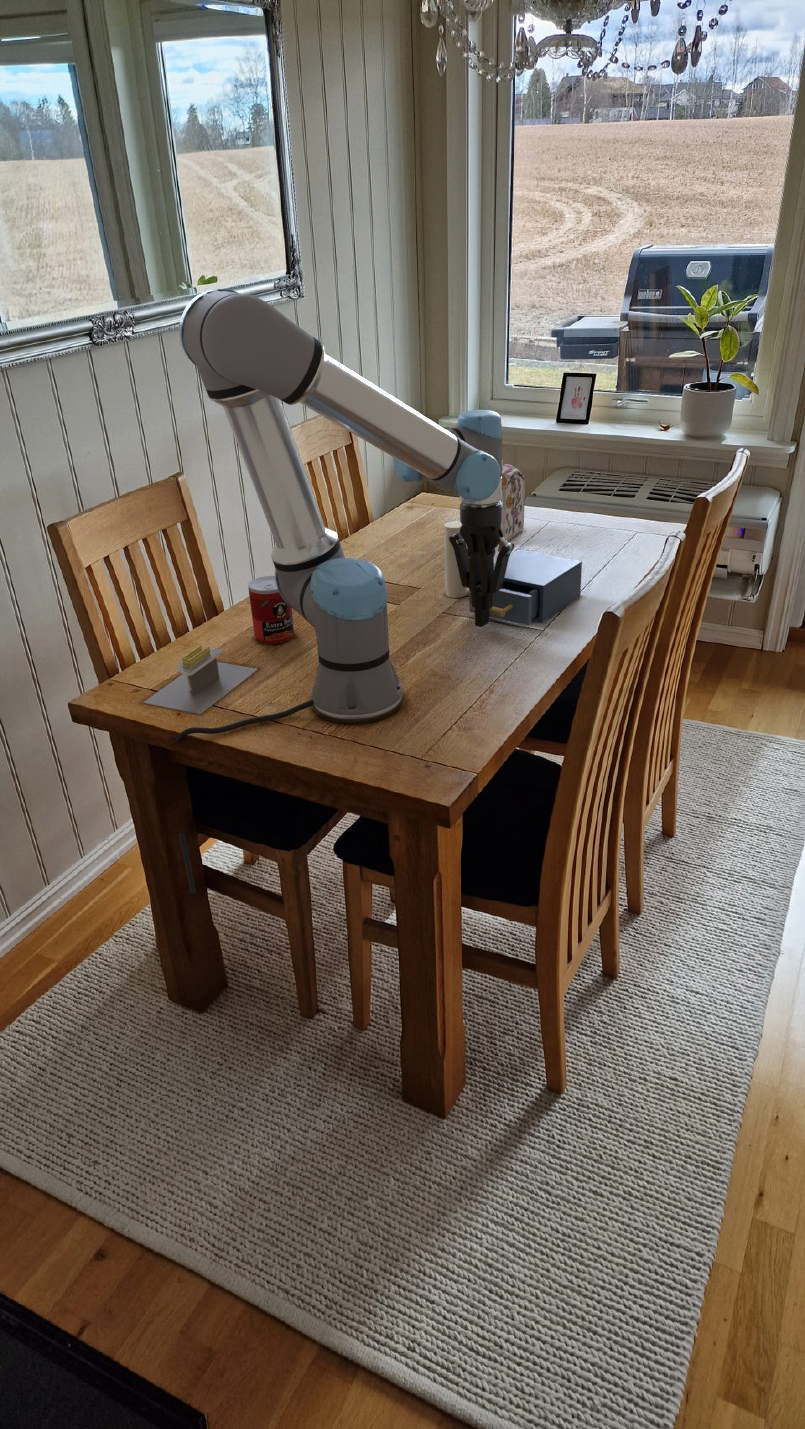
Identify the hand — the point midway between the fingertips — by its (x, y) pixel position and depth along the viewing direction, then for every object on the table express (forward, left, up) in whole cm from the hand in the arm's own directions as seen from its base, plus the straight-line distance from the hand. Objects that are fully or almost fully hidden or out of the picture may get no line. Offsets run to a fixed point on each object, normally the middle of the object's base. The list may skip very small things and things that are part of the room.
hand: (482, 623), depth 183 cm
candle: (+11, +18, -2) cm, 21 cm away
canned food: (-28, +28, -2) cm, 40 cm away
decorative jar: (+44, +39, -2) cm, 59 cm away
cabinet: (+18, +4, -2) cm, 18 cm away
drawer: (+11, +2, -1) cm, 11 cm away
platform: (-49, +20, -2) cm, 53 cm away
